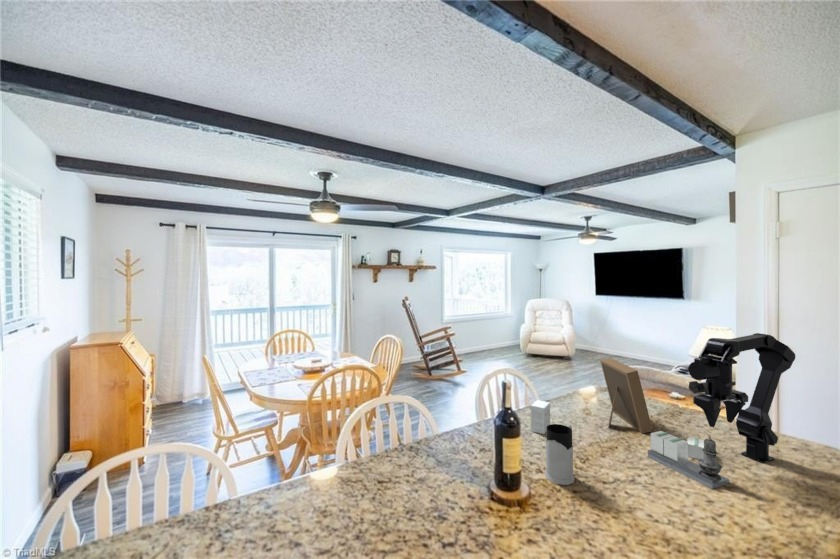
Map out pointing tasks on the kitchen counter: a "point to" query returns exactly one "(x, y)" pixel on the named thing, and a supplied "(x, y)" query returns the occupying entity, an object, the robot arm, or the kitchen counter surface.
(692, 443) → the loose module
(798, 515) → the kitchen counter surface
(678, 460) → the rail
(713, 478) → the dark grey tall piece
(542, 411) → the small box
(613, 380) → the photo frame
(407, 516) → the kitchen counter surface
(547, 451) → the glass holder
